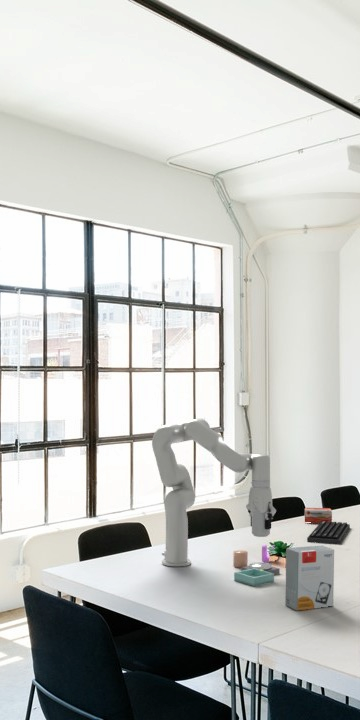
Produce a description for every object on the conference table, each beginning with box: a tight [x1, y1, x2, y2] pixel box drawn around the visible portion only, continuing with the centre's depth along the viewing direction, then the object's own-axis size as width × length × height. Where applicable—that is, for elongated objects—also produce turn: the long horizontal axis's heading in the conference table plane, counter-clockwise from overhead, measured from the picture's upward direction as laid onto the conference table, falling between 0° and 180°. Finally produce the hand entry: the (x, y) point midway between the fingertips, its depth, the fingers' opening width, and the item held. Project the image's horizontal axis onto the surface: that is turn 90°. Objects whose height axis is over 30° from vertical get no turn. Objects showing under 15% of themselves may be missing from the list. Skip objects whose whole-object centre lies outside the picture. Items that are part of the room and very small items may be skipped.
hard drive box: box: [284, 545, 335, 611], centre depth 251 cm, size 16×8×20 cm, turn 114°
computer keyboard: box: [306, 521, 351, 545], centre depth 377 cm, size 45×16×4 cm, turn 161°
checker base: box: [241, 565, 280, 576], centre depth 296 cm, size 11×11×3 cm
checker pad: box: [249, 561, 273, 570], centre depth 296 cm, size 9×9×1 cm
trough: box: [233, 568, 275, 587], centre depth 283 cm, size 11×11×3 cm
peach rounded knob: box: [232, 549, 249, 569], centre depth 307 cm, size 6×6×6 cm
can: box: [251, 507, 271, 538], centre depth 297 cm, size 8×8×12 cm
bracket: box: [261, 544, 274, 563], centre depth 322 cm, size 13×6×7 cm, turn 160°
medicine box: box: [304, 507, 333, 523], centre depth 411 cm, size 15×8×8 cm, turn 82°
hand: (260, 527), depth 297 cm, fingers closed on can, 7 cm apart
